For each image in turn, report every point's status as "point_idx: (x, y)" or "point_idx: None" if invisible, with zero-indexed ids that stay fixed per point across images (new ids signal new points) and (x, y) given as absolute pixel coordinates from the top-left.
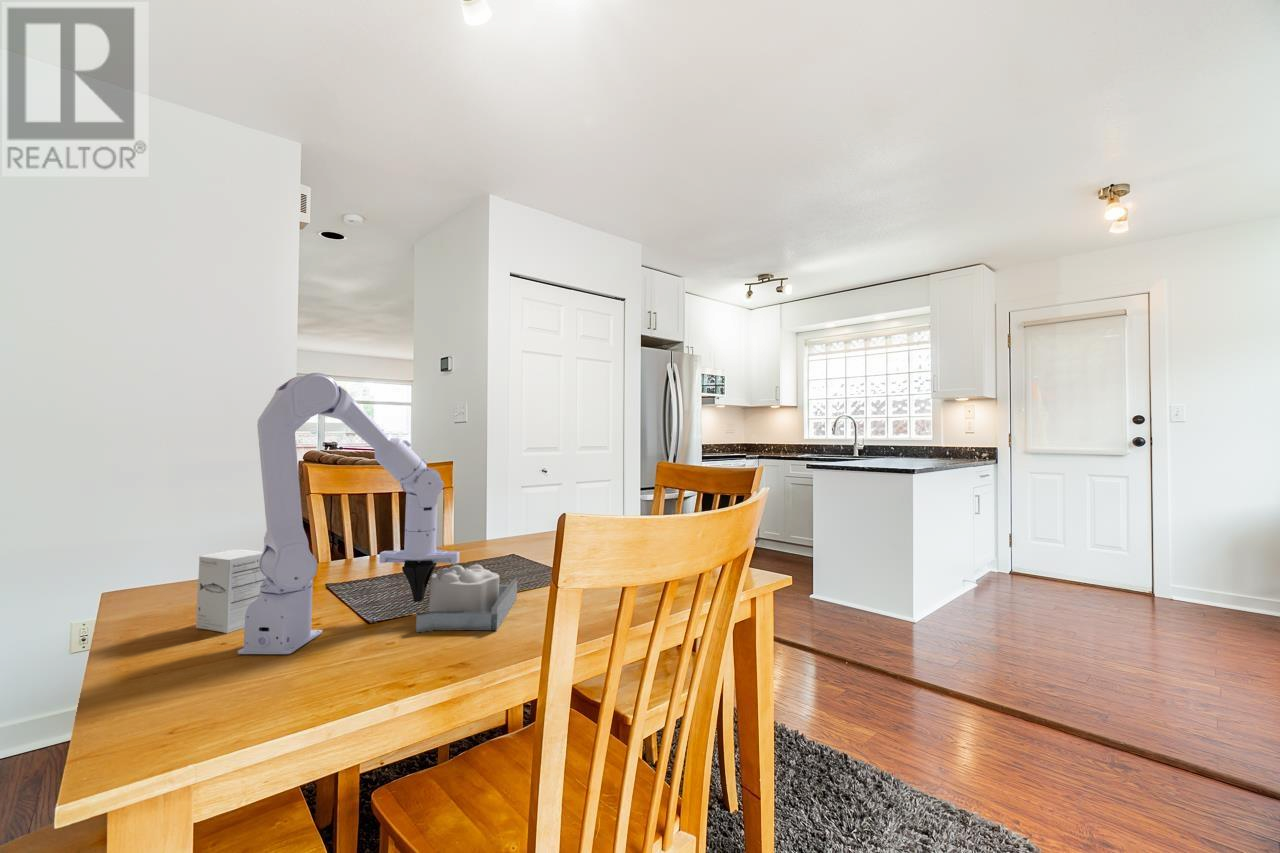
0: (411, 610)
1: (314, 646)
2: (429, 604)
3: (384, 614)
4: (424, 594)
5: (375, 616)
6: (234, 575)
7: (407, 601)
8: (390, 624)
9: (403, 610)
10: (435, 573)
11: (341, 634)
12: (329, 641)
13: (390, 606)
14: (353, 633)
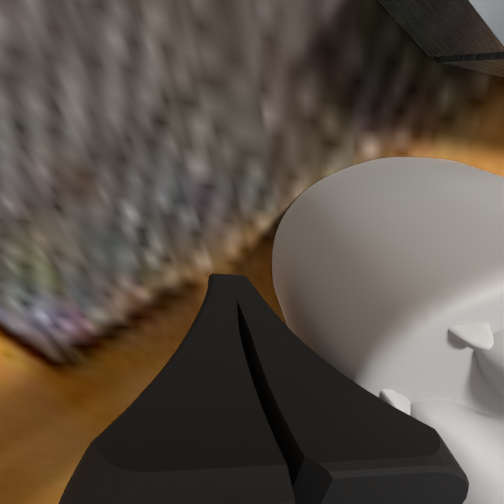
0: (173, 220)
1: (4, 501)
2: (284, 318)
3: (56, 270)
4: (254, 287)
5: (26, 294)
6: None
7: (69, 8)
8: (148, 373)
9: (129, 216)
10: (379, 395)
11: (20, 443)
12: (23, 479)
13: (5, 129)
14: (58, 436)
